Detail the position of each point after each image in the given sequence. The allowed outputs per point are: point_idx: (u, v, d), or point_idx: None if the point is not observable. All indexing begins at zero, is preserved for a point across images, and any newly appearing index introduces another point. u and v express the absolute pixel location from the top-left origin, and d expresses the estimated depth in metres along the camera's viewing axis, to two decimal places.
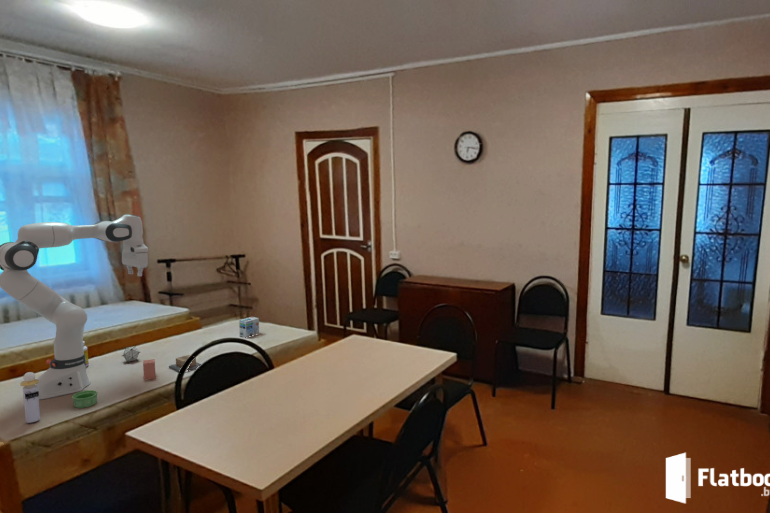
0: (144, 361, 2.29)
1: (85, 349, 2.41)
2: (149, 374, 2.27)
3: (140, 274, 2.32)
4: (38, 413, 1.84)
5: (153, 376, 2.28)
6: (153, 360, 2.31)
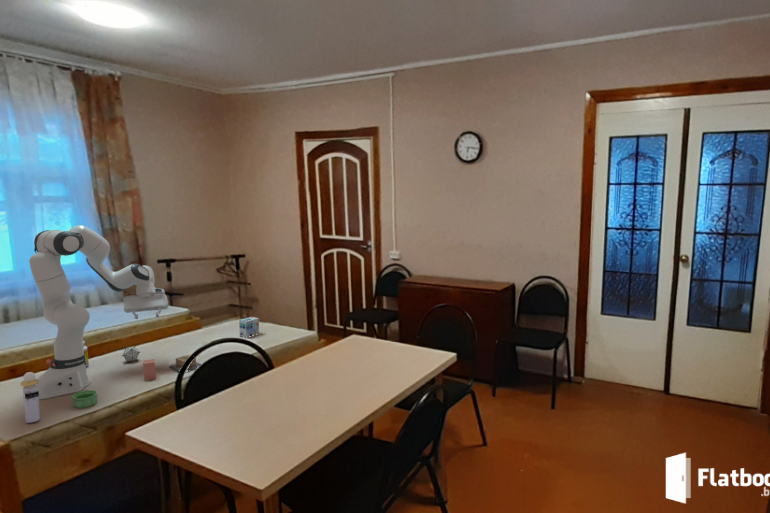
0: (144, 361, 2.29)
1: (85, 349, 2.41)
2: (149, 374, 2.27)
3: None
4: (38, 413, 1.84)
5: (153, 376, 2.28)
6: (153, 360, 2.31)
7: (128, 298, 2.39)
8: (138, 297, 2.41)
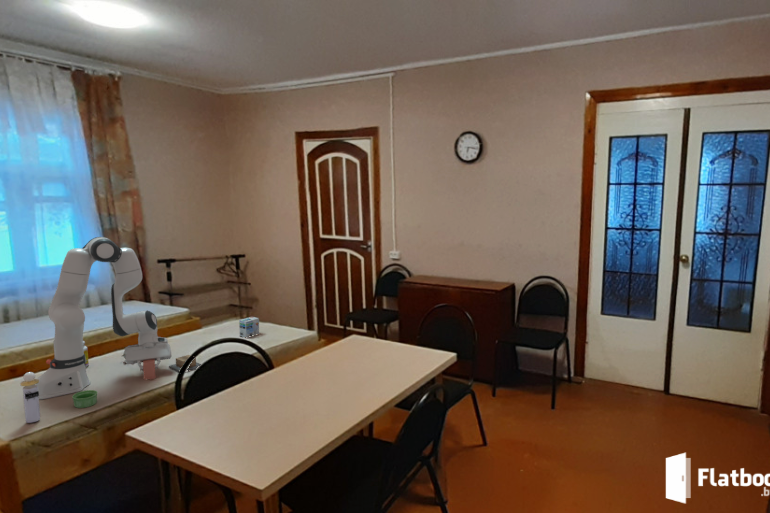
0: (144, 361, 2.29)
1: (85, 349, 2.41)
2: (149, 374, 2.27)
3: None
4: (38, 413, 1.84)
5: (153, 376, 2.28)
6: (153, 360, 2.31)
7: (130, 349, 2.30)
8: (140, 347, 2.32)
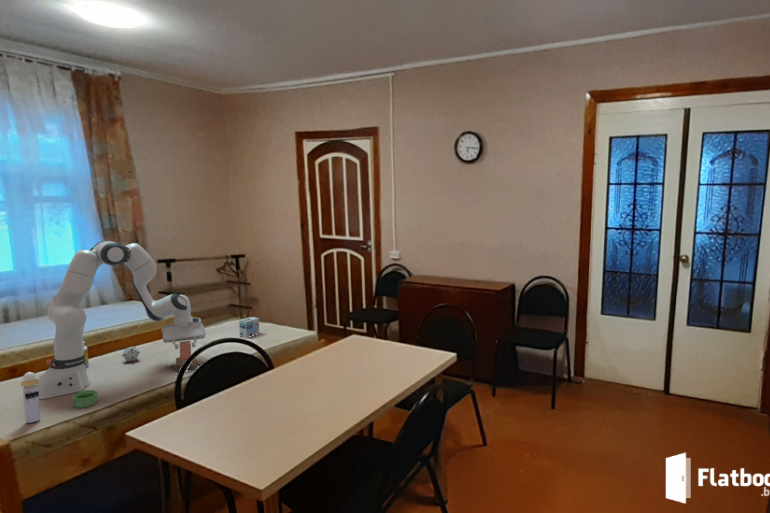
0: (180, 342, 2.41)
1: (85, 349, 2.41)
2: (185, 354, 2.40)
3: None
4: (38, 413, 1.84)
5: None
6: (189, 341, 2.43)
7: (166, 328, 2.42)
8: (176, 327, 2.44)
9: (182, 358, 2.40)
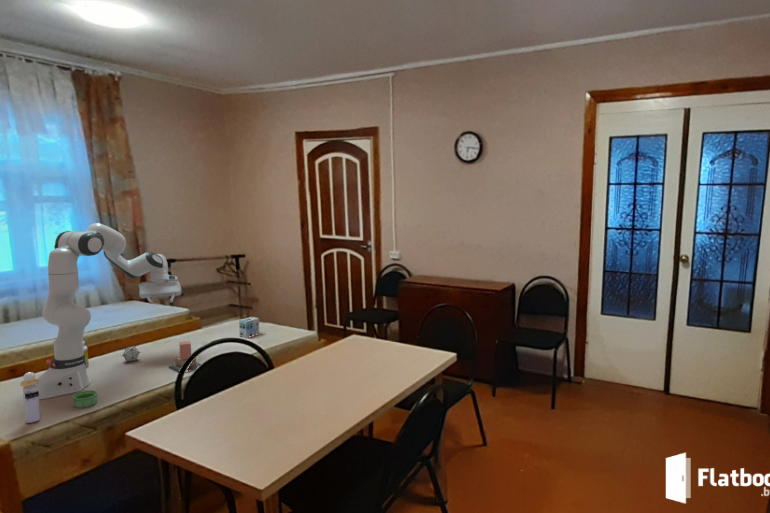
0: (180, 343, 2.41)
1: (85, 349, 2.41)
2: (185, 354, 2.40)
3: (172, 300, 2.52)
4: (38, 413, 1.84)
5: None
6: (188, 341, 2.43)
7: (143, 284, 2.50)
8: (153, 283, 2.52)
9: (182, 358, 2.40)
